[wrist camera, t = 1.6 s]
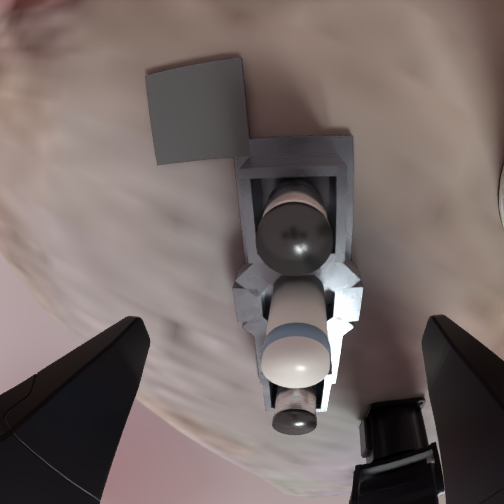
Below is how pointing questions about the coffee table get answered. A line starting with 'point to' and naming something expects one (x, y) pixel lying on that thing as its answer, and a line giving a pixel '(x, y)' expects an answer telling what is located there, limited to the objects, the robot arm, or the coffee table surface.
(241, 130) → the rubber pad
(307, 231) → the plunger
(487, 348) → the robot arm
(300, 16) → the coffee table surface
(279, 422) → the plunger
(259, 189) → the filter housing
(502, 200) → the coffee can
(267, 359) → the cartridge
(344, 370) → the coffee table surface
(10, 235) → the coffee table surface
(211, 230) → the coffee table surface
